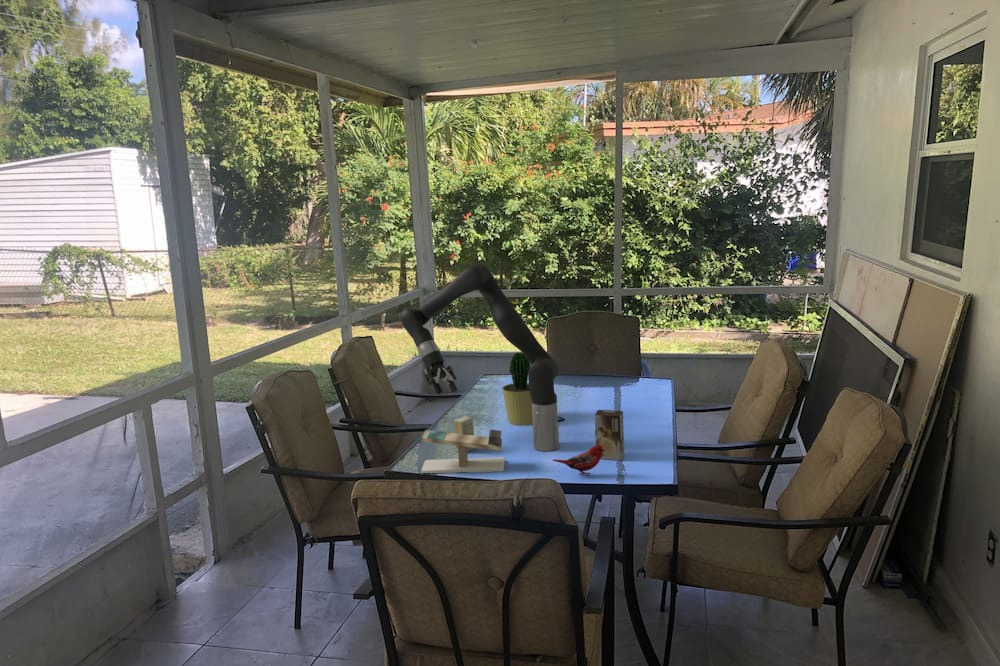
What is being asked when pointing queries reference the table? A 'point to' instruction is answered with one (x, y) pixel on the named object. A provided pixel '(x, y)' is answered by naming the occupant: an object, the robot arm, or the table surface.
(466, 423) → the skincare box
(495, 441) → the balance beam
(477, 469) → the beam stand
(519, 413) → the potted cactus
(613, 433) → the coffee box
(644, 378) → the table surface
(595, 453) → the decorative bird figurine
